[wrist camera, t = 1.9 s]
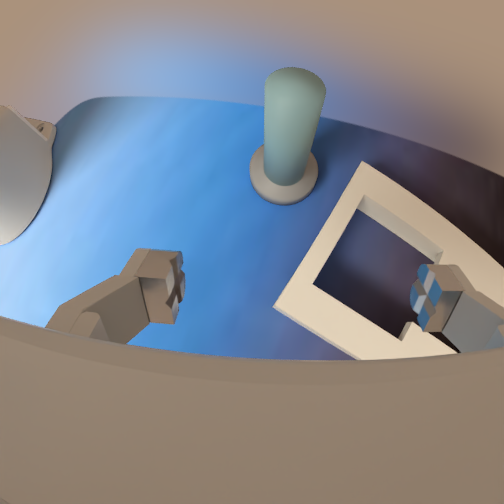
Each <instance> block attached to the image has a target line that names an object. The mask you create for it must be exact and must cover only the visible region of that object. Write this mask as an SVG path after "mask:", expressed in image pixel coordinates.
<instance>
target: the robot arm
mask: <svg viewBox="0 0 504 504" xmlns="http://www.w3.org/2000/svg"><path fill="white" fill-rule="evenodd" d="M55 135H56V127H55V126H54V125H53V124H52V123H49V122H45V121H40V120H35V119H31V118H26V117H23V116H22V115H20V114H19V113H18V112H17V111H16V110H15V109H14V108H13V107H11V106H10V105H8V106H7V107H5V106H0V245H4V244H6V243H9V242H11V241H12V240H14V239H15V238H16V237H18V236H19V235H20V234H21V233H22V232H23V231H24V230H25V229H26V227H27V226H28V225H29V224H30V222H31V221H32V219H33V218H34V216H35V215H36V213H37V211H38V210H39V208H40V206H41V204H42V202H43V199H44V197H45V195H46V192H47V189H48V186H49V182H50V178H51V172H52V145H53V142H54V138H55ZM182 265H183V257H182V253H181V251H172V250H159V249H146V248H138V249H136V250H135V252H134V253H133V255H132V256H131V258H130V259H129V261H128V262H127V264H126V265H125V267H124V268H123V270H122V272H121V273H120V275H114V276H113V277H111V278H109V279H107V280H105V281H103V282H101V283H100V284H98V285H96V286H94V287H92V288H90V289H89V290H87V291H85V292H83V293H81V294H80V295H78V296H76V297H74V298H72V299H71V300H69V301H67V302H65V303H64V304H62V305H60V306H59V307H58V309H57V310H56V312H55V313H54V315H53V316H52V318H51V319H50V321H49V322H48V324H47V325H46V327H45V328H44V327H40V326H36V325H32V324H28V323H24V322H20V321H17V320H13V319H9V318H6V317H3V316H0V504H504V308H503V307H502V306H500V305H499V304H497V303H496V302H495V301H493V300H492V299H490V298H489V297H487V296H486V295H484V294H483V293H481V292H480V291H476V290H475V288H474V287H473V286H472V284H471V283H470V281H469V280H468V278H467V277H466V276H465V274H464V273H463V271H462V270H461V269H460V267H459V266H457V265H436V264H422V265H421V266H420V267H419V270H418V272H417V276H418V280H417V281H416V282H415V283H414V284H413V286H412V289H411V292H410V303H411V306H412V309H413V310H414V311H415V312H416V313H418V314H419V315H418V317H417V320H418V322H419V325H420V327H421V329H422V331H423V332H442V333H443V334H444V335H445V336H446V337H447V338H448V339H449V340H450V341H451V342H452V343H453V344H454V345H455V346H456V347H457V348H458V350H459V351H460V352H461V353H455V354H446V355H436V356H424V357H412V358H396V359H375V360H329V361H323V360H276V359H256V358H240V357H227V356H215V355H205V354H195V353H186V352H177V351H169V350H161V349H154V348H147V347H140V346H134V345H128V344H126V343H128V342H129V341H130V340H131V339H132V338H133V337H135V336H136V335H137V334H138V333H139V332H140V331H141V330H143V329H144V328H145V327H146V326H147V325H148V324H150V323H149V322H152V323H164V324H175V321H176V318H177V315H178V312H179V306H178V304H179V303H180V302H181V301H182V300H183V297H184V293H185V273H184V272H183V271H182V270H181V267H182Z"/></svg>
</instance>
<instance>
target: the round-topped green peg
mask: <svg viewBox="0 0 504 504" xmlns="http://www.w3.org/2000/svg"><path fill="white" fill-rule="evenodd" d="M325 95H326V88H325V85H324V83H323V81H322V80H321V79H320V78H319V77H318V76H317V75H315V74H314V73H312V72H310V71H308V70H305V69H301V68H295V67H294V68H293V67H290V68H289V67H288V68H282V69H279V70H276V71H274V72H273V73H271V74H270V75H269V77H268V78H267V79H266V82H265V107H264V144H263V145H262V146H260V147H259V148H258V149H257V150H256V151H255V153H254V154H253V156H252V158H251V161H250V179H251V183H252V186H253V188H254V190H255V191H256V192H257V194H258V195H259V196H260V197H261V198H263V199H264V200H266V201H268V202H270V203H272V204H276V205H293V204H296V203H299V202H301V201H302V200H304V199H305V198H306V197H307V196H308V195H309V194H310V193H311V192H312V190H313V188H314V185H315V182H316V180H317V176H318V165H317V161H316V159H315V157H314V155H313V154H312V153H311V147H312V143H313V140H314V136H315V133H316V129H317V125H318V121H319V118H320V114H321V110H322V107H323V103H324V99H325Z"/></svg>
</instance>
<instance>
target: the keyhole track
mask: <svg viewBox="0 0 504 504" xmlns="http://www.w3.org/2000/svg"><path fill="white" fill-rule="evenodd" d="M356 208H357V209H359V210H360V211H362V212H363V213H365V214H366V215H368V216H369V217H371V218H372V219H374V220H375V221H377V222H378V223H380V224H381V225H383V226H384V227H386V228H387V229H389V230H390V231H392V232H393V233H395V234H396V235H397V236H399V237H400V238H402V239H403V240H405V241H406V242H407V243H409V244H410V245H412V246H413V247H414V248H416V249H417V250H419V251H420V252H421V253H423V254H424V255H425V256H427V257H428V258H429V259H431V260H432V261H433V262H434V264H436V265H457V266H459V267H460V269H461V270H462V271H463V273H464V274H465V276H466V277H467V278H468V280H469V281H470V283H471V284H472V286H473V287H474V288H475V290H476V291H480V292H481V293H483V294H484V295H486V296H487V297H489V298H490V299H492V300H493V301H495V302H496V303H497V304H499V305H500V306H502V307H503V308H504V268H503V267H502V266H501V265H500V264H499V263H497V262H496V261H495V260H494V259H493V258H492V257H491V256H490V255H489V254H487V253H486V252H485V251H484V250H483V249H482V248H481V247H479V246H478V245H477V244H476V243H475V242H474V241H472V240H471V239H470V238H469V237H468V236H466V235H465V234H464V233H463V232H462V231H460V230H459V229H458V228H457V227H455V226H454V225H453V224H452V223H450V222H449V221H448V220H447V219H445V218H444V217H443V216H441V215H440V214H439V213H437V212H436V211H435V210H433V209H432V208H431V207H429V206H428V205H427V204H425V203H424V202H423V201H421V200H420V199H419V198H417V197H416V196H414V195H413V194H411V193H410V192H409V191H407V190H406V189H404V188H403V187H401V186H400V185H399V184H397V183H396V182H394V181H393V180H391V179H390V178H388V177H387V176H385V175H384V174H382V173H381V172H379V171H377V170H376V169H374V168H373V167H371V166H370V165H368V164H366V163H365V162H363V161H362V162H361V163H360V165H359V167H358V168H357V170H356V172H355V173H354V175H353V177H352V178H351V180H350V182H349V183H348V185H347V187H346V189H345V190H344V192H343V194H342V195H341V197H340V199H339V201H338V203H337V205H336V206H335V208H334V210H333V211H332V213H331V215H330V216H329V218H328V220H327V221H326V223H325V225H324V226H323V228H322V230H321V231H320V233H319V235H318V236H317V238H316V239H315V241H314V243H313V244H312V246H311V248H310V249H309V251H308V252H307V254H306V256H305V257H304V259H303V260H302V262H301V264H300V265H299V267H298V268H297V270H296V272H295V273H294V275H293V276H292V278H291V279H290V281H289V282H288V284H287V285H286V287H285V288H284V290H283V291H282V293H281V295H280V296H279V298H278V299H277V301H276V302H275V304H274V305H273V308H275V309H276V310H278V311H279V312H281V313H282V314H284V315H286V316H287V317H289V318H290V319H292V320H293V321H295V322H297V323H298V324H300V325H301V326H303V327H305V328H306V329H308V330H309V331H311V332H313V333H314V334H316V335H317V336H319V337H321V338H322V339H324V340H325V341H327V342H329V343H330V344H332V345H334V346H335V347H337V348H338V349H340V350H342V351H343V352H345V353H347V354H348V355H350V356H352V357H353V358H355V359H357V360H375V359H396V358H412V357H424V356H436V355H446V354H455V353H457V352H455V351H454V350H453V349H451V348H450V347H448V346H447V345H445V344H444V343H443V342H441V341H440V340H438V339H437V338H435V337H434V336H432V335H431V334H429V333H428V332H423V331H422V329H421V327H419V326H418V325H416V324H415V323H413V322H407V323H406V324H405V326H404V328H403V330H402V332H401V334H400V336H399V338H398V339H397V338H396V337H394V336H392V335H391V334H389V333H388V332H386V331H385V330H383V329H382V328H380V327H378V326H377V325H375V324H374V323H372V322H371V321H369V320H368V319H366V318H364V317H363V316H361V315H360V314H358V313H357V312H355V311H353V310H352V309H350V308H349V307H347V306H346V305H344V304H343V303H341V302H339V301H338V300H336V299H335V298H333V297H332V296H330V295H328V294H327V293H325V292H324V291H322V290H321V289H319V288H317V287H316V286H314V285H313V282H314V280H315V279H316V277H317V275H318V274H319V272H320V270H321V269H322V267H323V265H324V264H325V262H326V260H327V259H328V257H329V255H330V254H331V252H332V250H333V249H334V247H335V245H336V243H337V242H338V240H339V238H340V236H341V235H342V233H343V231H344V229H345V228H346V226H347V224H348V222H349V221H350V219H351V217H352V215H353V214H354V212H355V210H356Z"/></svg>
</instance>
